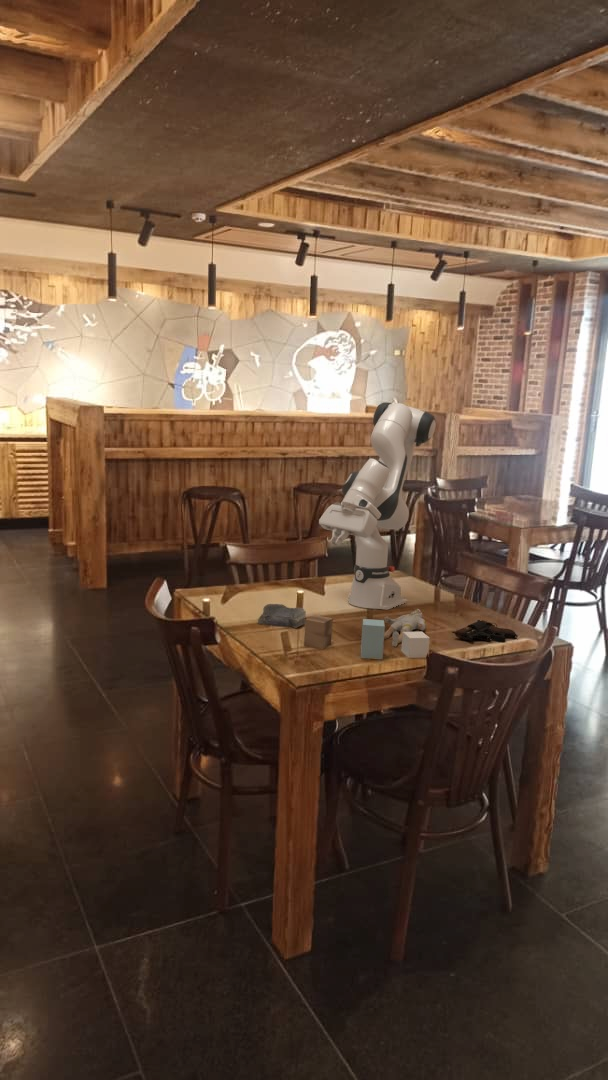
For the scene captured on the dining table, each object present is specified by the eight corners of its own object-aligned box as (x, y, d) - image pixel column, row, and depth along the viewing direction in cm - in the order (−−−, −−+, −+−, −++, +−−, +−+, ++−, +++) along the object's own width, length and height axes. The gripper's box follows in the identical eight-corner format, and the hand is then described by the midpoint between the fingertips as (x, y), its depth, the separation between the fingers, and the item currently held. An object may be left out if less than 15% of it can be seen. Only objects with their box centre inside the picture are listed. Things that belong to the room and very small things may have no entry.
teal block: (360, 652, 227) (362, 618, 225) (381, 653, 227) (383, 620, 225) (360, 658, 221) (363, 624, 219) (382, 660, 221) (384, 626, 219)
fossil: (300, 630, 246) (301, 619, 245) (253, 624, 249) (253, 613, 249) (312, 618, 260) (313, 607, 260) (267, 612, 264) (267, 601, 263)
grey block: (401, 651, 230) (402, 631, 229) (420, 651, 231) (422, 631, 230) (408, 658, 224) (409, 638, 223) (428, 657, 226) (429, 637, 224)
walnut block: (313, 640, 235) (314, 614, 234) (331, 644, 233) (332, 618, 231) (303, 645, 230) (305, 619, 229) (322, 649, 227) (323, 623, 226)
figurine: (365, 626, 237) (400, 600, 263) (364, 645, 238) (399, 618, 264) (407, 634, 231) (438, 607, 257) (405, 653, 232) (437, 625, 258)
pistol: (522, 629, 249) (480, 614, 258) (496, 642, 235) (452, 625, 244) (519, 642, 251) (477, 626, 259) (493, 655, 236) (450, 638, 245)
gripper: (327, 496, 244) (305, 533, 241) (374, 503, 229) (351, 543, 225) (339, 507, 248) (317, 543, 245) (385, 515, 233) (363, 554, 229)
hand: (334, 543), depth 235 cm, fingers closed
